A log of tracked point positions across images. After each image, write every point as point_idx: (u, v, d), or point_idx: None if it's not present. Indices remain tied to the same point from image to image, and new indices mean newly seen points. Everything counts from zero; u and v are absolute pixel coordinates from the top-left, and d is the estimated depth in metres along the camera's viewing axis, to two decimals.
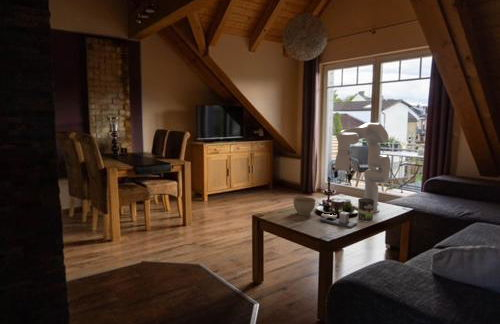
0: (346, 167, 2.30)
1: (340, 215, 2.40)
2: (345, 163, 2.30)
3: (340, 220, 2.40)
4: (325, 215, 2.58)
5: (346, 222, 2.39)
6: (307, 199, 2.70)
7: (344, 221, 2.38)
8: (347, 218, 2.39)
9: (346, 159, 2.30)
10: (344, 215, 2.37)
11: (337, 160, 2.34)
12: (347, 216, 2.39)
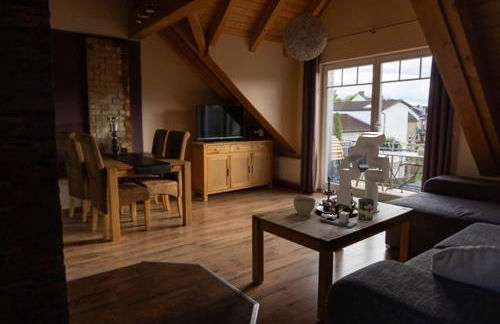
0: (347, 202, 2.34)
1: (340, 215, 2.40)
2: (346, 198, 2.34)
3: (340, 220, 2.40)
4: (325, 215, 2.58)
5: (346, 222, 2.39)
6: (307, 199, 2.70)
7: (344, 221, 2.38)
8: (347, 218, 2.39)
9: (347, 194, 2.34)
10: (344, 215, 2.37)
11: (338, 194, 2.38)
12: (347, 216, 2.39)
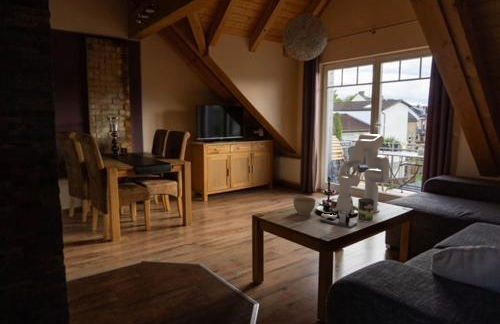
0: (347, 209, 2.35)
1: (340, 215, 2.39)
2: (346, 205, 2.35)
3: (340, 220, 2.40)
4: (325, 215, 2.58)
5: None
6: (307, 199, 2.70)
7: (344, 221, 2.38)
8: None
9: (347, 202, 2.35)
10: (344, 215, 2.37)
11: (338, 202, 2.39)
12: None
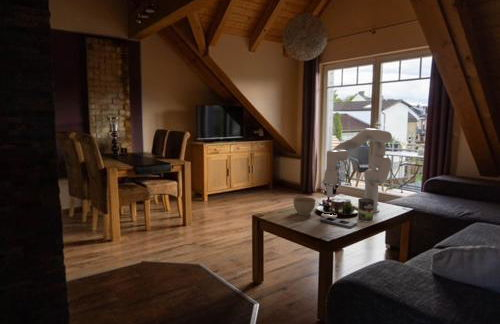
0: (334, 181, 2.50)
1: (327, 187, 2.54)
2: (333, 178, 2.50)
3: (327, 192, 2.54)
4: (325, 215, 2.58)
5: (333, 194, 2.53)
6: (307, 199, 2.70)
7: (331, 193, 2.53)
8: None
9: (334, 174, 2.49)
10: (331, 187, 2.52)
11: (326, 175, 2.54)
12: None
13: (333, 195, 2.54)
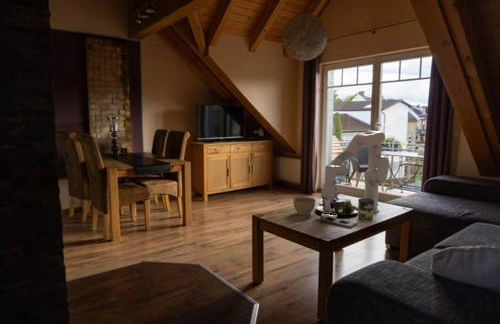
0: (332, 196, 2.53)
1: (325, 201, 2.57)
2: (331, 192, 2.53)
3: (325, 206, 2.58)
4: (325, 215, 2.58)
5: None
6: (307, 199, 2.70)
7: (329, 207, 2.56)
8: None
9: (332, 189, 2.53)
10: (329, 201, 2.55)
11: (324, 189, 2.57)
12: None
13: (331, 209, 2.57)
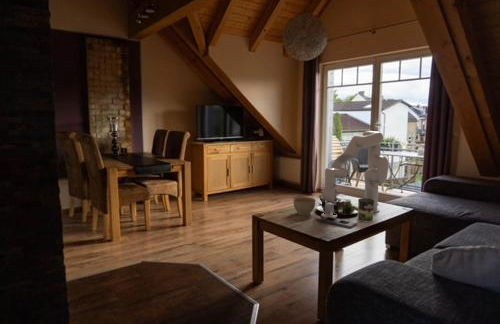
0: (332, 199, 2.54)
1: (325, 206, 2.58)
2: (331, 195, 2.54)
3: (325, 210, 2.58)
4: (325, 215, 2.58)
5: (331, 212, 2.57)
6: (307, 199, 2.70)
7: (329, 211, 2.57)
8: (332, 209, 2.58)
9: (332, 191, 2.53)
10: (329, 206, 2.56)
11: (324, 192, 2.57)
12: (332, 206, 2.58)
13: (331, 214, 2.57)
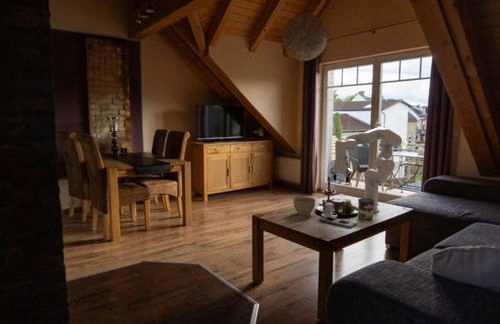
0: (343, 171, 2.54)
1: (325, 206, 2.58)
2: (342, 167, 2.53)
3: (325, 210, 2.58)
4: (325, 215, 2.58)
5: (331, 212, 2.57)
6: (307, 199, 2.70)
7: (329, 211, 2.57)
8: (332, 209, 2.58)
9: (343, 164, 2.53)
10: (329, 206, 2.56)
11: (335, 165, 2.57)
12: (332, 206, 2.58)
13: (331, 214, 2.57)
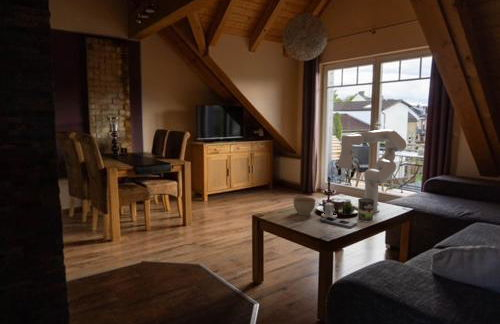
0: (349, 165, 2.54)
1: (325, 206, 2.58)
2: (348, 162, 2.54)
3: (325, 210, 2.58)
4: (325, 215, 2.58)
5: (331, 212, 2.57)
6: (307, 199, 2.70)
7: (329, 211, 2.57)
8: (332, 209, 2.58)
9: (349, 158, 2.53)
10: (329, 206, 2.56)
11: (340, 159, 2.58)
12: (332, 206, 2.58)
13: (331, 214, 2.57)
